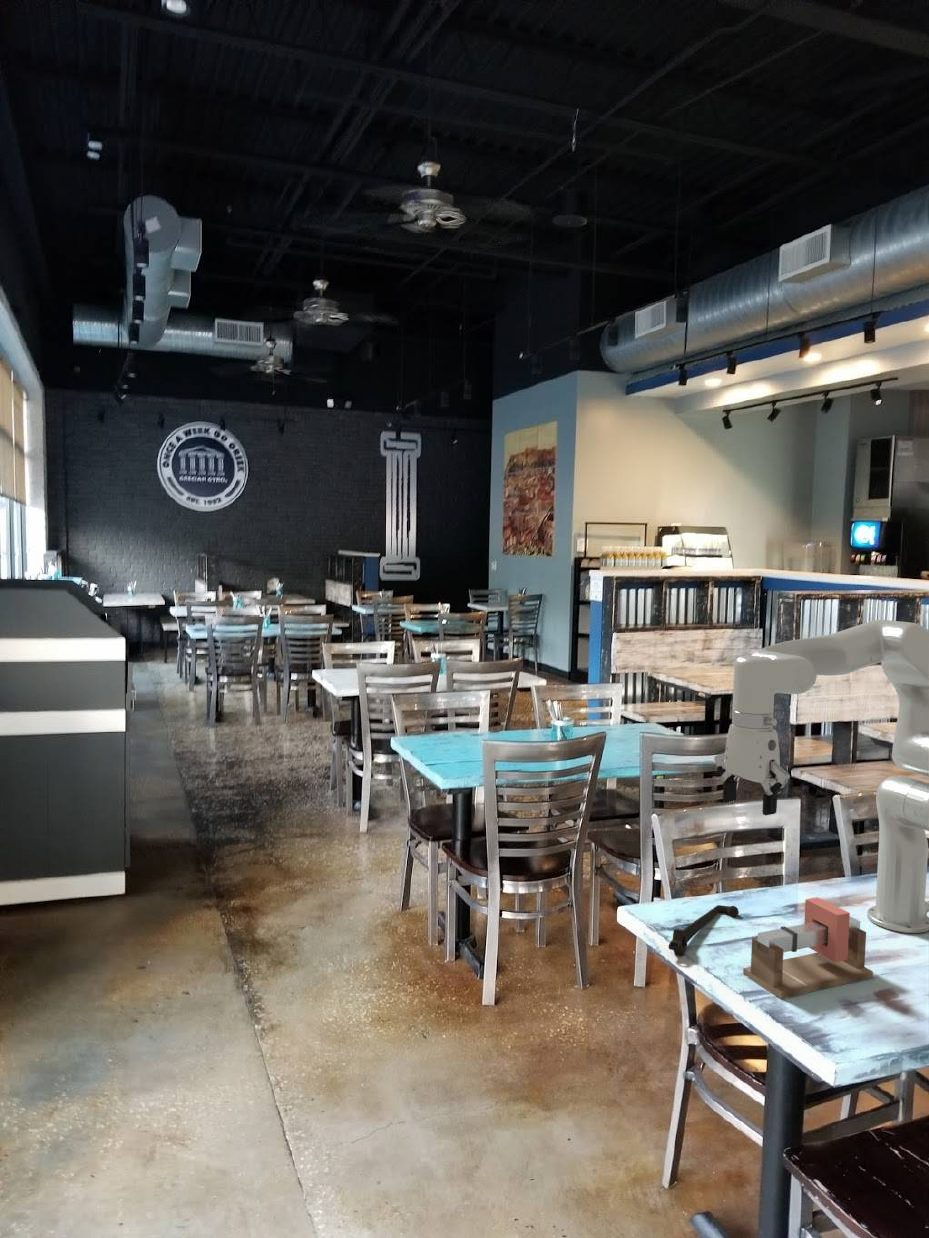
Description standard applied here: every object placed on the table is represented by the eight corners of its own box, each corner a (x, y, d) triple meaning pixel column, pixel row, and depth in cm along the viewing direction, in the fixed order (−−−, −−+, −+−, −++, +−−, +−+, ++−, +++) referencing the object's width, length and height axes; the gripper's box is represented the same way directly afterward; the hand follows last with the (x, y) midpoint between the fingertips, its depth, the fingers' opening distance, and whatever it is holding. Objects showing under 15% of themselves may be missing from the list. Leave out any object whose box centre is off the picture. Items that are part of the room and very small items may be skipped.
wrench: (740, 924, 199) (691, 965, 174) (717, 920, 201) (666, 960, 177) (740, 900, 199) (691, 938, 174) (717, 896, 202) (665, 933, 177)
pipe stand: (832, 955, 180) (833, 915, 179) (872, 977, 170) (874, 936, 170) (743, 974, 171) (744, 933, 170) (780, 999, 162) (782, 955, 161)
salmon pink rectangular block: (815, 942, 176) (817, 897, 175) (847, 959, 169) (849, 912, 168) (803, 944, 175) (805, 899, 174) (835, 962, 168) (837, 915, 167)
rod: (846, 930, 176) (847, 913, 176) (860, 938, 173) (861, 920, 173) (756, 949, 167) (757, 931, 167) (769, 957, 164) (770, 938, 164)
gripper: (803, 726, 169) (799, 816, 170) (730, 711, 183) (727, 794, 185) (776, 730, 165) (772, 822, 166) (704, 714, 179) (701, 799, 181)
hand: (748, 807), depth 176 cm, fingers open, 9 cm apart
